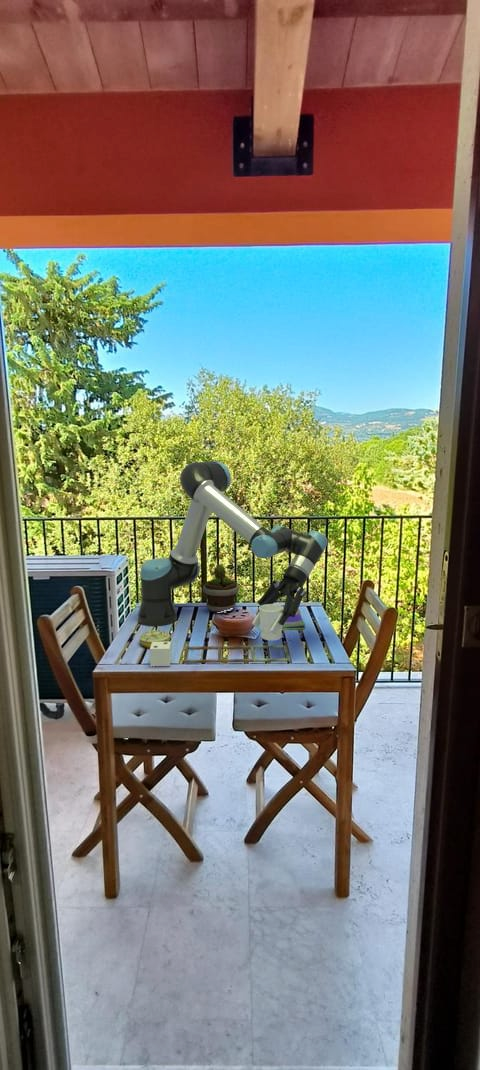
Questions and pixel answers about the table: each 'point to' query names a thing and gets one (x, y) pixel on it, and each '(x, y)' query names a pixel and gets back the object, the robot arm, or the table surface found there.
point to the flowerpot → (220, 591)
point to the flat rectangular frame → (236, 659)
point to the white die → (160, 654)
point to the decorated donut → (153, 637)
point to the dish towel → (293, 622)
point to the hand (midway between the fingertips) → (263, 628)
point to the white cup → (269, 620)
